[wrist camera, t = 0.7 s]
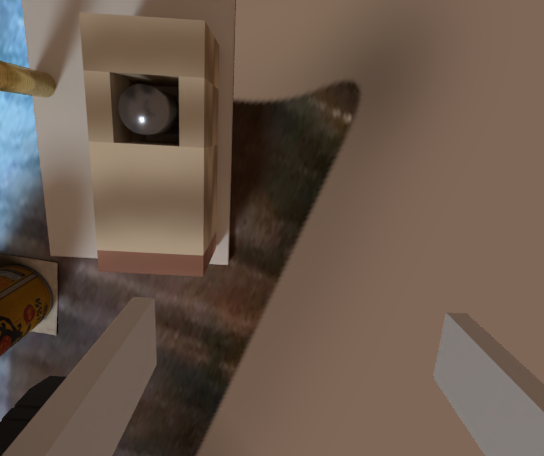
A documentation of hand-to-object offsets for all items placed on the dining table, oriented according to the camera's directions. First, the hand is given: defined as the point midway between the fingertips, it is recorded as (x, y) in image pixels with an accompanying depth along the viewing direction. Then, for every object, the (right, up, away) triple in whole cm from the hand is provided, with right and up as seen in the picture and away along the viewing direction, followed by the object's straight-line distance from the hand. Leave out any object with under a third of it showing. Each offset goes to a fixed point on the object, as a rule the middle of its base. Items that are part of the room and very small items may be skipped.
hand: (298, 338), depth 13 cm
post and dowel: (-13, +14, +15) cm, 24 cm away
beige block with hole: (-9, +10, +15) cm, 20 cm away
